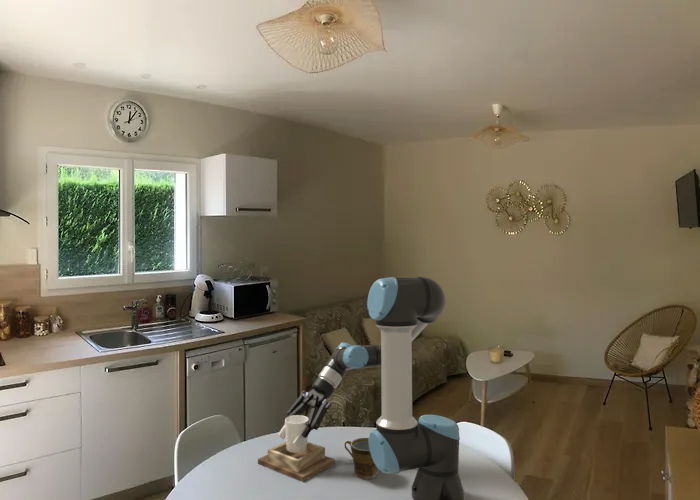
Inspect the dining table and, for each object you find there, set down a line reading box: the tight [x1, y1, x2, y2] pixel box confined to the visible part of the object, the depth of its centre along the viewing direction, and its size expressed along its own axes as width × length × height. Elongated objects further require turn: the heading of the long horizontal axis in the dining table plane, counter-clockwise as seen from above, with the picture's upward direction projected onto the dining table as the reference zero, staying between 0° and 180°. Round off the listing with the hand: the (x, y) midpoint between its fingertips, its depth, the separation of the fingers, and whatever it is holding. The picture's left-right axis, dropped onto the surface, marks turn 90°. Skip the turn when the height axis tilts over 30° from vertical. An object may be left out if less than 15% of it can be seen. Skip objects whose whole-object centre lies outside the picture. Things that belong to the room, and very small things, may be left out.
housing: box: [257, 441, 336, 483], centre depth 172 cm, size 20×16×5 cm
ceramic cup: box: [344, 437, 379, 480], centre depth 166 cm, size 13×10×10 cm
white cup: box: [284, 414, 309, 453], centre depth 172 cm, size 8×8×10 cm
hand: (288, 440), depth 170 cm, fingers closed on white cup, 8 cm apart
